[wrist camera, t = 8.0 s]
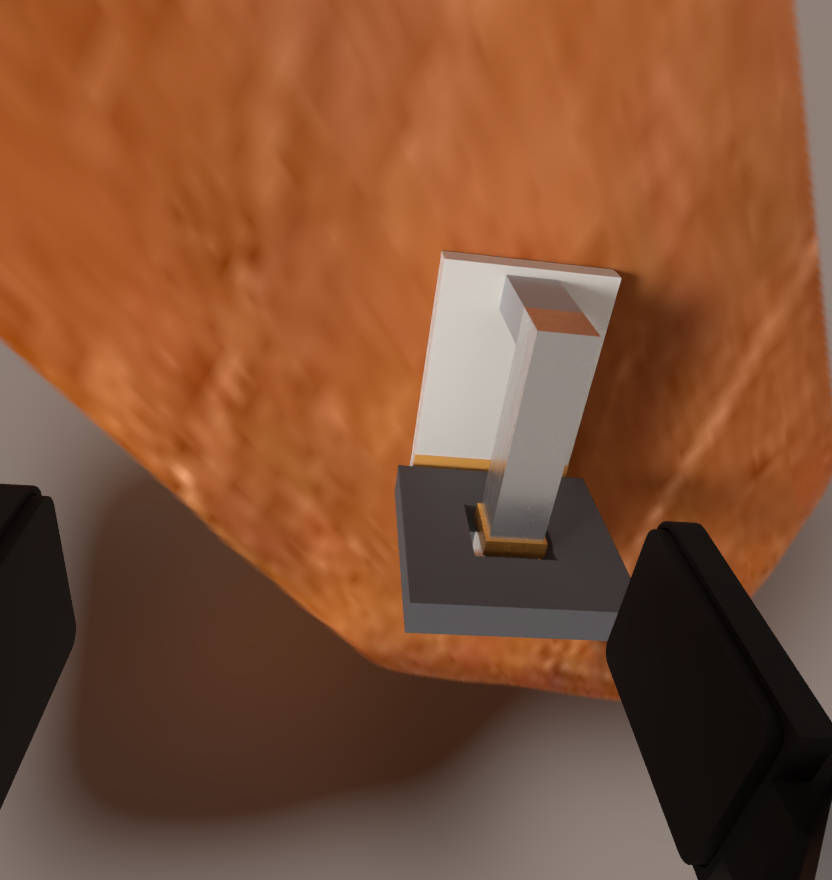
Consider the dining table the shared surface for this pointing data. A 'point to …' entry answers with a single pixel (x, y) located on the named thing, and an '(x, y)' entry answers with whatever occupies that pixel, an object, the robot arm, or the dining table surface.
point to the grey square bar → (534, 432)
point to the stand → (491, 347)
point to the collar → (503, 564)
